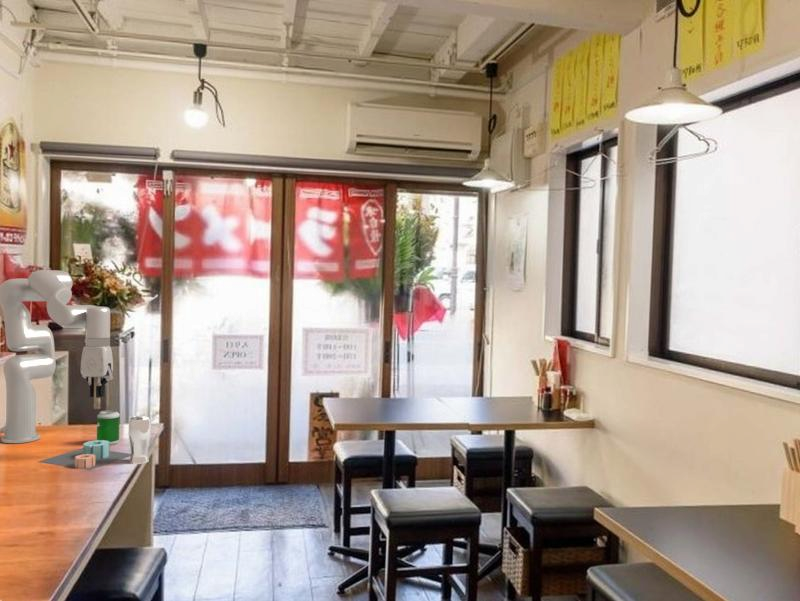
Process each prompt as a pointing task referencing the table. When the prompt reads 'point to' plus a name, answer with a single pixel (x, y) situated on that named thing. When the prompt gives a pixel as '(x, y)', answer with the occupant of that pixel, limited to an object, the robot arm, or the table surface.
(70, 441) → the table surface
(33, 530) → the table surface
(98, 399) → the tan wooden dowel
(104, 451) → the pale teal gear
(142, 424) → the beer glass
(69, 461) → the mat
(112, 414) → the soda can
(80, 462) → the bead small
